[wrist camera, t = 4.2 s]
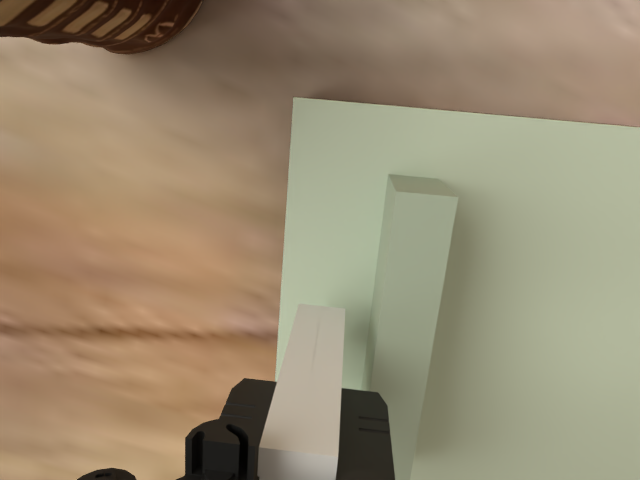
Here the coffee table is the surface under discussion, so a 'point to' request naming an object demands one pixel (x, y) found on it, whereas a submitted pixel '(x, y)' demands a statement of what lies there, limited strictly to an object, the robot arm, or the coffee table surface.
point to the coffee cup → (98, 22)
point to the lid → (475, 283)
